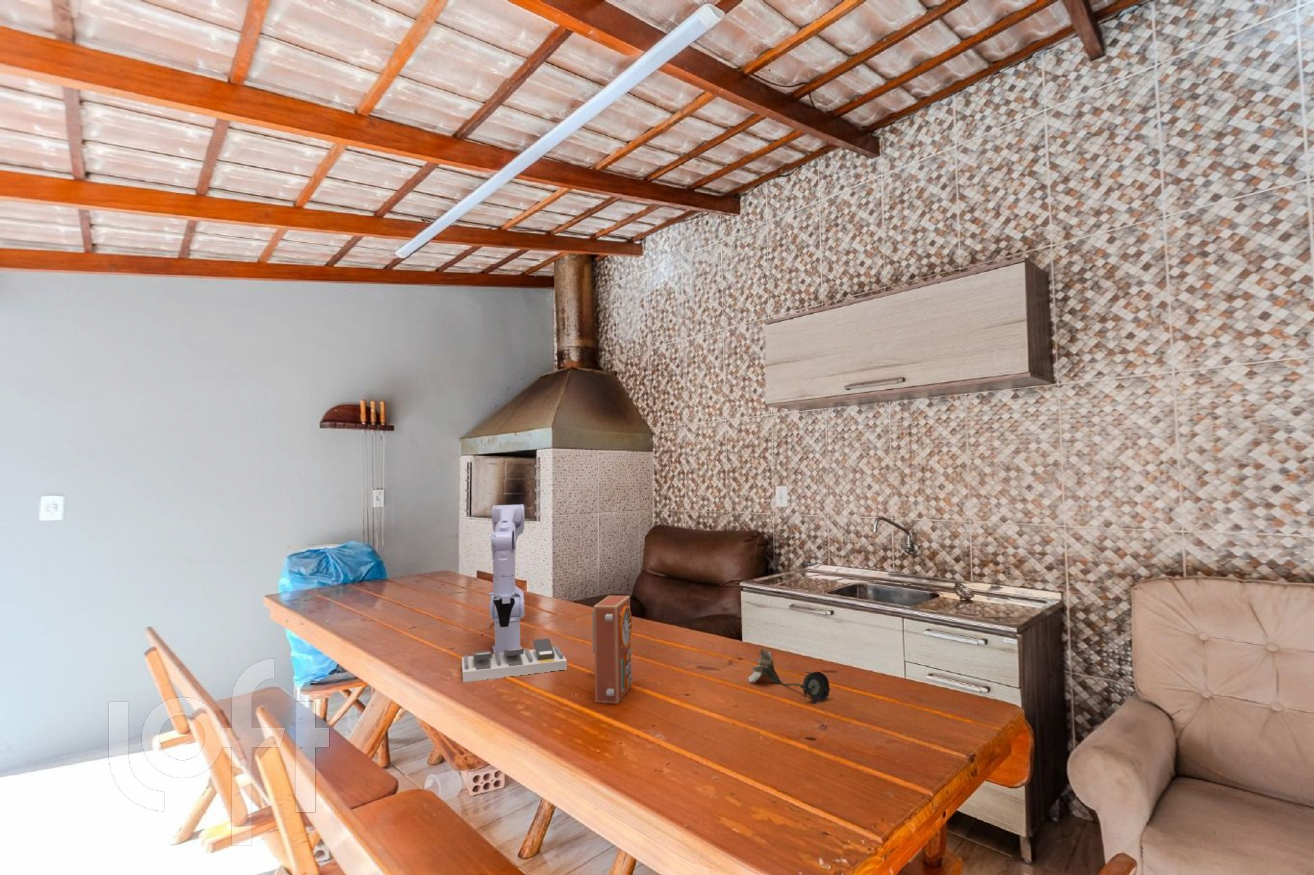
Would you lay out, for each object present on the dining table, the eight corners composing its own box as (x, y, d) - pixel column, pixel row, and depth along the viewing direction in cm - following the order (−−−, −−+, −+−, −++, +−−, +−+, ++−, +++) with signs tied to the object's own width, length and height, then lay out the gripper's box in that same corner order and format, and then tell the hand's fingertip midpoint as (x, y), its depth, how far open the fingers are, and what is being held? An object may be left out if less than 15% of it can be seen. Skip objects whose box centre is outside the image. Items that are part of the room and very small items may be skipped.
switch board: (461, 666, 172) (461, 653, 172) (558, 656, 180) (558, 643, 180) (463, 682, 159) (463, 668, 159) (566, 670, 167) (566, 656, 167)
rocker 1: (473, 657, 170) (472, 651, 171) (490, 655, 172) (489, 650, 172) (474, 660, 162) (474, 654, 162) (492, 658, 163) (492, 652, 164)
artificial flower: (805, 714, 137) (790, 669, 137) (746, 695, 157) (733, 656, 157) (835, 695, 141) (820, 651, 142) (774, 679, 161) (761, 641, 161)
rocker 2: (533, 643, 176) (533, 639, 175) (549, 642, 177) (549, 637, 177) (537, 659, 167) (537, 655, 167) (554, 657, 169) (554, 653, 168)
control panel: (635, 683, 155) (619, 706, 140) (608, 682, 156) (589, 704, 141) (634, 594, 156) (618, 607, 141) (606, 594, 157) (587, 606, 143)
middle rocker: (503, 654, 173) (503, 649, 173) (520, 652, 174) (520, 647, 175) (506, 655, 165) (506, 650, 165) (523, 653, 166) (523, 648, 166)
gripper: (487, 573, 179) (487, 622, 178) (490, 579, 166) (490, 633, 164) (512, 571, 181) (513, 620, 180) (518, 578, 168) (518, 630, 167)
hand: (504, 626), depth 173 cm, fingers closed
